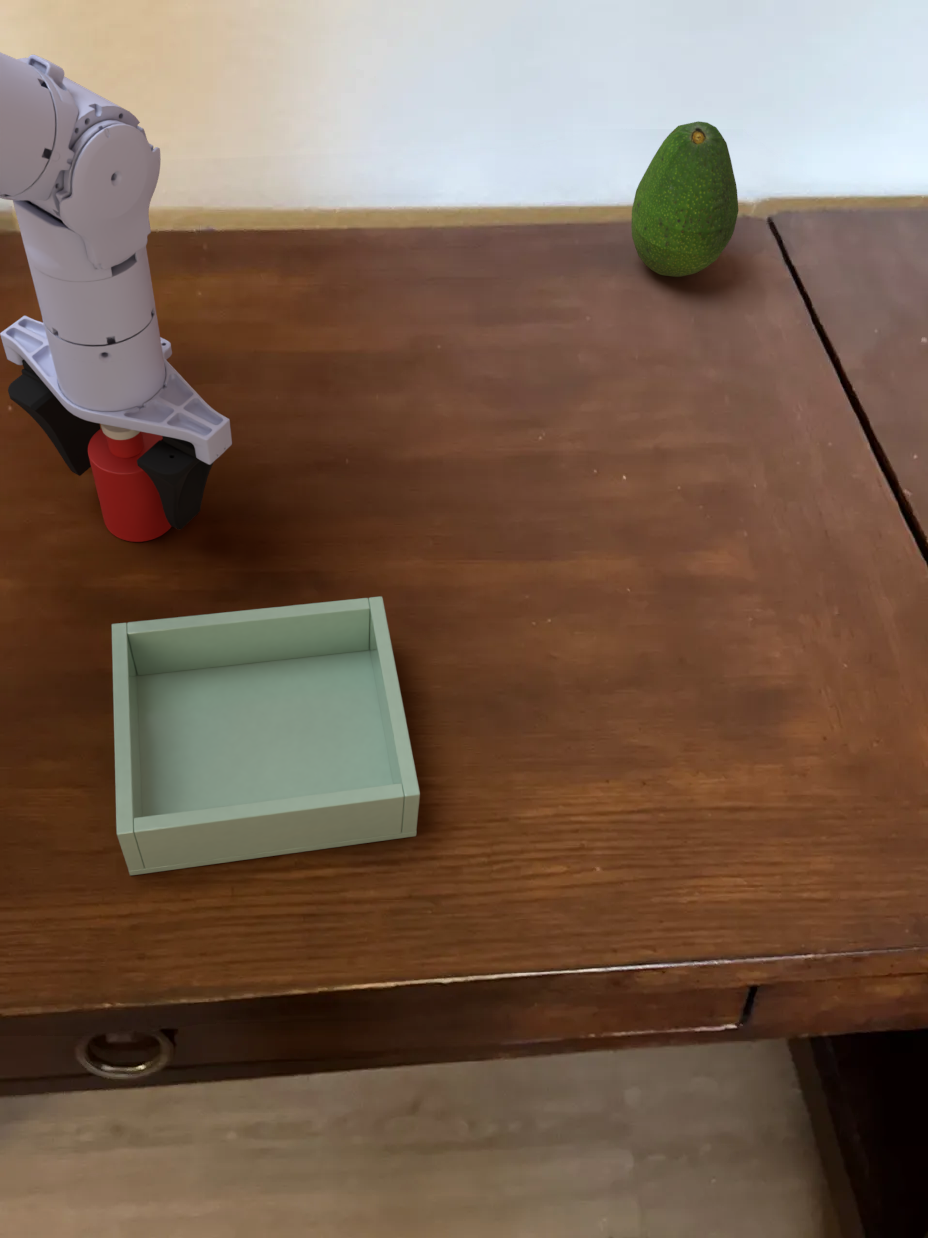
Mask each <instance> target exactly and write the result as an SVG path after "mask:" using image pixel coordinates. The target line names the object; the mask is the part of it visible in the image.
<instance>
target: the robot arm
mask: <svg viewBox="0 0 928 1238" xmlns="http://www.w3.org/2000/svg"><path fill="white" fill-rule="evenodd" d="M140 123H141V122H140V120H139V119H138V118H137V117H136V116H135V115H134V114H133V113H132V112H131V111H130V110H127V109H126V108H124V107H121V106H120V105H118V104H116V103H114V102H113V101H111V100H108V99H107V98H105V97H103V96H101V95H99V93H96V92H94V91H92V90H90V89H89V88H86V87H85V86H83V85H81V84H79V83H77V82H75V81H73V80H72V79H70V78H69V77H66V75H65V71H64V69H63V68H62V67H61V66H60V65H57V64H55V63H54V62H52V61H50V60H48V59H45V58H43V57H42V56H39V55H36V54H31V55H29V56H28V57H21V58H15V57H13V56H10V55H8V54H6V53H3V52H1V51H0V199H2V200H7V201H12V203H13V204H12V205H13V208H14V212H15V216H16V219H17V223H18V227H19V231H20V235H21V240H22V244H23V248H24V251H25V255H26V258H27V262H28V263H27V264H28V267H29V271H30V274H31V278H32V283H33V286H34V290H35V291H34V292H35V294H36V298H37V303H38V307H39V310H40V315H41V318H42V321H39V320H36V319H34V318H31V317H29V316H27V315H23V316H22V317H20V318H19V319H18V320H16V321H15V322H13V323H12V324H11V325H9V326H7V328H5V329H4V330H2V331H1V332H0V339H1V342H2V346H3V349H4V352H5V356H6V360H8V361H9V362H11V363H14V364H15V365H17V366H23V368H22V369H21V371H20V372H21V374H20V376H18V377H17V378H15V379H14V380H13V381H12V382H11V383H10V384H9V386H8V388H7V393H8V397H9V400H11V401H13V402H14V403H15V404H17V405H18V406H19V407H20V408H22V410H24V411H25V412H26V413H27V414H28V415H29V416H30V417H31V418H32V420H34V422H36V423H37V424H38V426H39V427H40V428H41V429H42V431H43V432H44V433H45V434H46V436H47V438H49V440H50V441H51V443H52V444H53V446H54V447H55V449H56V451H57V453H58V454H59V455H60V458H62V460H63V462H64V463H65V464H66V466H67V467H68V469H69V470H70V471H71V472H72V473H73V474H75V475H77V476H79V477H81V476H82V475H83V474H84V473H85V472H87V471H88V470H89V469H91V464H90V460H89V456H88V445H89V442H90V440H91V438H92V437H93V435H94V434H95V433H96V432H97V431H98V430H100V429H101V424H105V425H110V426H115V427H120V428H125V429H130V430H135V431H141V432H146V433H151V434H156V435H161V436H162V437H163V439H162V440H159V441H158V442H157V443H156V444H154V445H153V446H152V447H151V448H150V449H149V450H148V451H147V452H145V453H144V454H143V455H142V456H141V457H140V458H139V459H138V460H137V465H138V466H139V467H140V468H141V469H142V470H144V471H145V472H146V473H147V475H148V476H149V477H150V478H151V480H152V481H153V483H154V485H155V486H156V489H157V491H158V493H159V495H160V498H161V502H162V506H163V510H164V513H165V516H166V519H167V521H168V522H169V524H170V525H171V526H172V527H173V528H175V530H177V531H181V530H182V529H184V527H186V526H187V525H188V524H189V523H190V522H191V521H192V520H193V519H194V518H195V517H197V515H198V514H199V513H200V512H201V510H202V509H201V508H202V503H203V497H204V493H205V488H206V485H207V481H208V478H209V474H210V472H211V469H212V467H213V465H214V463H215V461H217V459H219V458H220V457H221V456H222V455H223V454H224V453H225V452H226V451H227V450H228V449H229V448H230V447H231V446H232V445H233V440H232V427H231V421H230V418H229V417H226V416H225V415H223V414H221V413H220V412H218V411H217V410H215V409H214V408H213V407H212V406H210V405H209V404H208V403H207V402H206V401H205V400H204V398H202V397H201V395H200V394H199V393H198V392H197V391H196V390H195V389H194V388H193V387H192V386H191V385H190V384H189V383H188V381H186V380H185V378H184V377H183V376H182V375H181V374H180V373H179V372H178V371H177V370H176V369H175V367H173V365H172V364H170V362H169V361H168V359H169V358H171V357H172V355H173V351H172V343H171V342H170V341H169V340H167V339H165V338H163V337H161V333H160V327H159V320H158V315H157V314H158V313H157V307H156V300H155V294H154V289H153V287H154V286H153V282H152V275H151V269H150V262H149V256H148V249H147V244H148V236H149V235H150V234H151V233H152V230H151V223H150V204H151V201H152V198H153V196H154V194H155V190H156V188H157V184H158V181H159V177H160V173H161V172H160V171H161V149H160V147H158V146H155V147H154V145H153V144H152V143H149V141H148V137H147V134H146V131H145V129H144V128H143V127H141V126H140ZM172 527H171V528H172Z"/></svg>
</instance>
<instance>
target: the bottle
mask: <svg viewBox="0 0 928 1238" xmlns="http://www.w3.org/2000/svg"><path fill="white" fill-rule="evenodd" d="M100 428H101V429H100V430H98V431H97V432H96V433H95V434H94V435H93V437H92V438H91V440H90V442H89V445H88V456H89V460H90V464H91V467H90V469H91V471H92V476H93V480H94V484H95V488H96V493H97V497H98V501H99V506H100V509H101V514H102V518H103V523H104V526H105V527H106V529H107V531H109V532H110V534H112V535H113V536H114V537H116V538H118V539H120V540H123V541H126V542H131V543H142V542H148V541H152V540H155V539H157V538H160V537H161V536H163V535H165V534H166V533H167V532H168V531H169V530H171V528H172V526H171V525H170V524H169V522H168V521H167V519H166V516H165V513H164V510H163V506H162V502H161V498H160V495H159V493H158V491H157V489H156V486H155V485H154V483H153V481H152V480H151V478H150V477H149V476H148V475H147V473H146V472H145V471H144V470H142V469H141V468H140V467H139V466H138V465H137V460H138V459H139V458H140V457H141V456H142V455H143V454H144V453H145V452H147V451H148V450H149V449H150V448H151V447H152V446H153V445H154V444H156V443H157V442H158V441H159V440H162V439H163V437H162V436H161V435H156V434H151V433H146V432H141V431H135V430H130V429H125V428H120V427H115V426H110V425H105V424H100Z"/></svg>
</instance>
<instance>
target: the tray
mask: <svg viewBox="0 0 928 1238" xmlns="http://www.w3.org/2000/svg"><path fill="white" fill-rule="evenodd" d="M111 657H112V658H111V660H112V661H111V662H112V663H111V664H112V666H111V667H112V703H113V704H112V705H113V706H112V708H113V743H114V744H113V745H114V748H113V749H114V788H115V793H114V794H115V829H116V832H115V833H116V834H115V835H116V837H117V840H118V843H119V846H120V849H121V852H122V855H123V859H124V861H125V865H126V867H127V870H128V874H129V876H137V875H144V874H153V873H158V872H159V873H160V872H166V871H174V870H181V869H188V868H195V867H196V868H197V867H204V866H209V865H217V864H224V863H225V864H226V863H232V862H238V861H239V862H240V861H246V860H255V859H260V858H267V857H268V858H269V857H273V856H275V857H276V856H283V855H290V854H296V853H305V852H311V851H319V850H326V849H333V848H340V847H347V846H355V845H361V844H367V843H376V842H383V841H390V840H391V841H392V840H397V839H404V838H405V839H406V838H412V837H417V832H418V831H417V829H418V821H419V811H420V810H419V809H420V799H421V790H420V785H419V780H418V777H417V769H416V765H415V760H414V754H413V748H412V744H411V738H410V734H409V728H408V723H407V717H406V711H405V707H404V702H403V697H402V692H401V691H402V690H401V686H400V681H399V676H398V671H397V665H396V660H395V655H394V650H393V644H392V640H391V633H390V629H389V623H388V619H387V613H386V607H385V603H384V598H383V596H382V595H380V596H370V597H362V598H351V599H341V600H333V601H332V600H331V601H323V602H322V601H321V602H312V603H311V602H310V603H304V604H303V603H302V604H293V605H284V606H274V607H264V608H253V609H245V610H234V611H226V612H224V611H223V612H215V613H206V614H195V615H185V616H178V617H177V616H176V617H175V616H174V617H166V618H165V617H164V618H157V619H156V618H155V619H148V620H147V619H146V620H137V621H128V622H120V623H119V622H117V623H111Z"/></svg>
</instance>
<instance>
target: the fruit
mask: <svg viewBox="0 0 928 1238" xmlns="http://www.w3.org/2000/svg"><path fill="white" fill-rule="evenodd" d="M739 211H740V210H739V198H738V188H737V182H736V177H735V173H734V169H733V163H732V159H731V155H730V151H729V147H728V143H727V141H726V140H725V138H724V137H723V135H722V133H721V132H720V131H719V129H718V128H717V127H716V126H714V125H713V124H711V123H709V122H706V121H699V120H698V121H694V122H687V123H684V124H680V125H678V126H676V127H675V128H674V129H673V130H672V131H671V132H670V133H669V134H668V135H667V136H666V137H665V138H664V140H663V141H662V142H661V144H660V146H659V148H658V149H657V150H656V153H655V154H654V155H653V158H652V159H651V161H650V163H649V165H648V166H647V168H646V170H645V172H644V173H643V176H642V178H641V179H640V182H639V183H638V185H637V188H636V190H635V193H634V199H633V203H632V208H631V225H630V226H631V238H632V241H633V244H634V248H635V250H636V253H637V255H638V257H639V258H640V260H641V261H642V263H643V264H644V265H645V266H646V267H647V268H648V269H650V270H651V271H652V272H654V273H656V274H658V275H660V276H667V277H675V278H680V277H686V276H690V275H694V274H697V273H699V272H701V271H703V270H705V269H706V268H708V267H709V266H710V265H712V264H713V263H715V262H716V261H717V260H718V258H719V257H720V256H721V254H722V253H723V251H724V250H725V249H726V248H727V245H728V244H729V242H730V241H731V239H732V237H733V235H734V232H735V228H736V224H737V219H738V216H739V215H738V214H739Z"/></svg>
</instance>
